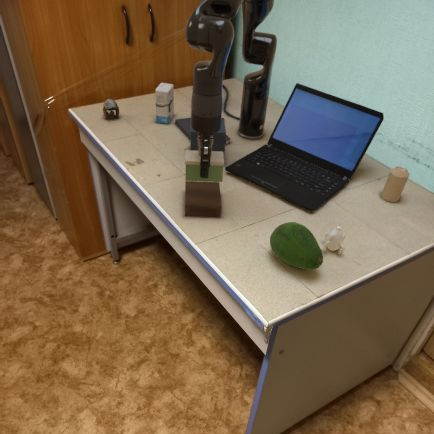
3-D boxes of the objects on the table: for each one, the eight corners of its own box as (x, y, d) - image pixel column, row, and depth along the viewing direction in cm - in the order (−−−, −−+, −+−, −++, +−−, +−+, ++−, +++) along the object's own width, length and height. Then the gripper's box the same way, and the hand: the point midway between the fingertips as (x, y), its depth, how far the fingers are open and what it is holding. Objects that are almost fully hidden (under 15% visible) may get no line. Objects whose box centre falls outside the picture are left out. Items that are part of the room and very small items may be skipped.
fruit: (327, 272, 105) (338, 241, 98) (297, 286, 101) (306, 255, 94) (289, 239, 114) (296, 208, 107) (259, 251, 110) (265, 219, 102)
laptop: (223, 172, 136) (228, 112, 122) (286, 136, 158) (296, 82, 144) (311, 215, 122) (328, 153, 109) (367, 169, 144) (387, 113, 130)
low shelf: (185, 192, 127) (185, 181, 124) (218, 193, 127) (219, 182, 125) (184, 216, 118) (185, 204, 115) (220, 217, 119) (221, 205, 116)
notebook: (175, 123, 159) (198, 149, 146) (175, 119, 158) (198, 144, 145) (205, 119, 164) (231, 143, 151) (205, 115, 163) (231, 139, 150)
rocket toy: (321, 253, 111) (328, 229, 105) (322, 240, 114) (329, 216, 109) (341, 257, 110) (350, 233, 104) (342, 244, 114) (350, 220, 108)
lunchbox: (185, 170, 118) (185, 150, 114) (221, 171, 119) (223, 151, 114) (184, 181, 114) (185, 161, 110) (222, 182, 115) (224, 162, 110)
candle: (400, 195, 133) (412, 166, 126) (397, 203, 130) (410, 174, 123) (382, 190, 135) (393, 161, 128) (379, 198, 131) (391, 169, 124)
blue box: (190, 147, 147) (190, 116, 139) (221, 148, 148) (224, 117, 140) (190, 163, 139) (190, 131, 131) (223, 164, 140) (226, 132, 132)
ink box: (168, 124, 159) (167, 92, 150) (155, 122, 159) (154, 90, 151) (174, 115, 164) (174, 83, 156) (162, 113, 165) (161, 81, 157)
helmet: (117, 117, 163) (113, 98, 160) (123, 116, 156) (119, 96, 153) (103, 120, 160) (98, 100, 158) (108, 119, 154) (103, 98, 151)
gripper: (223, 123, 99) (218, 185, 111) (220, 98, 109) (216, 158, 121) (191, 121, 98) (190, 185, 110) (191, 97, 108) (190, 157, 120)
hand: (203, 170), depth 115 cm, fingers closed on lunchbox, 6 cm apart
